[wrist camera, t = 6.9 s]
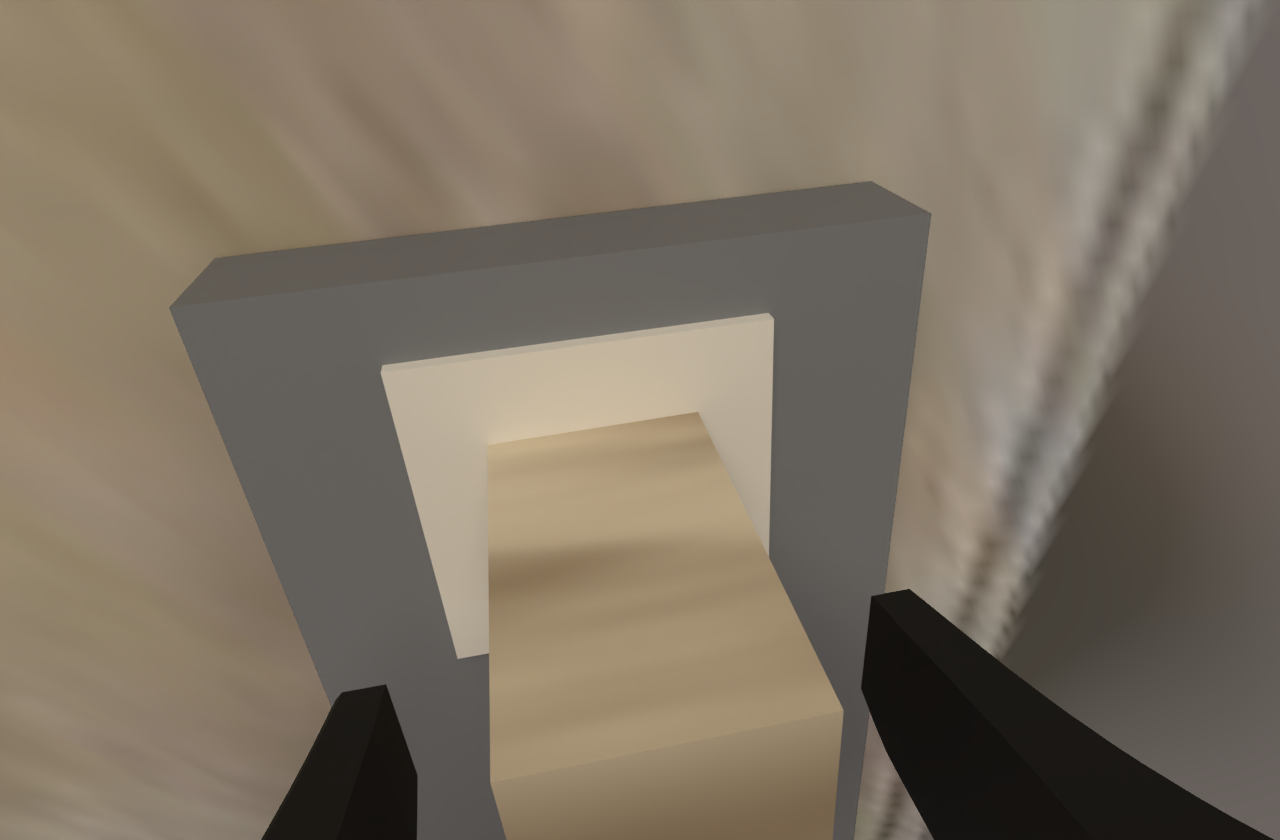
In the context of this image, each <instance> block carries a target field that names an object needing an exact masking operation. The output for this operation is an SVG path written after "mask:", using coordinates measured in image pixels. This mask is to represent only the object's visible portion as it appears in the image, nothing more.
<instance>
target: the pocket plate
mask: <svg viewBox="0 0 1280 840" xmlns="http://www.w3.org/2000/svg"><path fill="white" fill-rule="evenodd" d="M930 219H931V213H929V212H927V211H926V210H924V209H922V208H920V207H918V206H916V205H914V204H913V203H911V202H909V201H907V200H905V199H903V198H901V197H900V196H898V195H896V194H894V193H892V192H890V191H888V190H887V189H885V188H883V187H881V186H879V185H877V184H875V183H874V182H872V181H871V182H863V183H854V184H846V185H837V186H828V187H820V188H811V189H803V190H794V191H786V192H777V193H769V194H760V195H752V196H743V197H735V198H726V199H718V200H709V201H701V202H692V203H683V204H675V205H666V206H658V207H649V208H641V209H632V210H624V211H615V212H607V213H598V214H590V215H581V216H573V217H564V218H556V219H547V220H538V221H530V222H521V223H513V224H504V225H496V226H487V227H479V228H470V229H462V230H453V231H445V232H436V233H428V234H419V235H410V236H402V237H393V238H385V239H376V240H368V241H359V242H351V243H342V244H334V245H325V246H317V247H308V248H300V249H291V250H283V251H274V252H265V253H257V254H248V255H240V256H231V257H223V258H215V259H214V260H213V261H212V262H211V263H210V264H209V266H208V267H207V268H206V269H205V270H204V271H203V272H202V273H201V274H200V275H199V276H198V277H197V278H196V279H195V280H194V282H193V283H192V284H191V285H190V286H189V287H188V288H187V289H186V290H185V291H184V292H183V293H182V294H181V295H180V296H179V298H178V299H177V300H176V301H175V302H174V303H173V304H172V305H171V306H170V307H169V308H170V311H171V313H172V316H173V318H174V321H175V323H176V326H177V328H178V331H179V333H180V336H181V338H182V340H183V343H184V345H185V348H186V350H187V353H188V355H189V358H190V360H191V363H192V365H193V367H194V370H195V372H196V375H197V377H198V380H199V382H200V385H201V387H202V390H203V392H204V395H205V397H206V399H207V402H208V404H209V407H210V409H211V412H212V414H213V417H214V419H215V422H216V424H217V426H218V429H219V431H220V434H221V436H222V439H223V441H224V444H225V446H226V449H227V451H228V454H229V456H230V458H231V461H232V463H233V466H234V468H235V471H236V473H237V476H238V478H239V481H240V483H241V486H242V488H243V490H244V493H245V495H246V498H247V500H248V503H249V505H250V508H251V510H252V513H253V515H254V517H255V520H256V522H257V525H258V527H259V530H260V532H261V535H262V537H263V540H264V542H265V545H266V547H267V549H268V552H269V554H270V557H271V559H272V562H273V564H274V567H275V569H276V572H277V574H278V576H279V579H280V581H281V584H282V586H283V589H284V591H285V594H286V596H287V599H288V601H289V604H290V606H291V608H292V611H293V613H294V616H295V618H296V621H297V623H298V626H299V628H300V631H301V633H302V636H303V638H304V640H305V643H306V645H307V648H308V650H309V653H310V655H311V658H312V660H313V663H314V665H315V667H316V670H317V672H318V675H319V677H320V680H321V682H322V685H323V687H324V690H325V692H326V695H327V697H328V699H329V702H330V704H331V707H332V706H333V704H334V702H335V700H336V699H337V697H338V696H339V695H340V694H341V693H342V692H346V691H352V690H357V689H363V688H368V687H374V686H379V685H385V684H386V685H387V688H388V691H389V694H390V697H391V700H392V703H393V706H394V708H395V711H396V714H397V717H398V720H399V723H400V726H401V729H402V732H403V735H404V737H405V740H406V743H407V746H408V749H409V752H410V755H411V758H412V761H413V763H414V766H415V769H416V772H417V775H418V790H417V840H506V836H505V833H504V829H503V826H502V822H501V819H500V815H499V812H498V808H497V805H496V801H495V798H494V794H493V791H492V787H491V784H490V692H489V580H488V467H487V445H490V444H496V443H503V442H509V441H516V440H522V439H528V438H535V437H541V436H547V435H554V434H560V433H567V432H573V431H579V430H586V429H592V428H598V427H605V426H611V425H618V424H624V423H630V422H637V421H643V420H649V419H656V418H662V417H669V416H675V415H681V414H688V413H694V412H698V413H699V415H700V417H701V419H702V421H703V424H704V426H705V428H706V430H707V432H708V434H709V436H710V438H711V440H712V442H713V444H714V446H715V448H716V450H717V452H718V454H719V456H720V458H721V460H722V462H723V464H724V466H725V469H726V471H727V473H728V475H729V477H730V479H731V481H732V483H733V485H734V487H735V489H736V491H737V493H738V495H739V497H740V499H741V501H742V503H743V505H744V507H745V509H746V512H747V514H748V516H749V518H750V520H751V522H752V524H753V526H754V528H755V530H756V532H757V534H758V536H759V538H760V540H761V542H762V544H763V546H764V548H765V550H766V552H767V554H768V557H769V559H770V561H771V563H772V565H773V567H774V569H775V571H776V573H777V575H778V577H779V579H780V581H781V583H782V585H783V587H784V589H785V591H786V593H787V595H788V597H789V600H790V602H791V604H792V606H793V608H794V610H795V612H796V614H797V616H798V618H799V620H800V622H801V624H802V626H803V628H804V630H805V632H806V634H807V636H808V638H809V640H810V642H811V645H812V647H813V649H814V651H815V653H816V655H817V657H818V659H819V661H820V663H821V665H822V667H823V669H824V671H825V673H826V675H827V677H828V679H829V681H830V683H831V685H832V688H833V690H834V692H835V694H836V696H837V698H838V700H839V702H840V704H841V706H842V708H843V710H844V713H843V724H842V736H841V747H840V759H839V770H838V782H837V794H836V805H835V817H834V828H833V840H853V838H854V830H855V822H856V814H857V806H858V798H859V790H860V782H861V774H862V766H863V758H864V750H865V742H866V734H867V726H868V718H869V708H868V705H867V703H866V700H865V698H864V695H863V693H862V690H861V682H862V674H863V665H864V656H865V647H866V638H867V629H868V621H869V612H870V603H871V596H874V595H879V594H884V589H885V581H886V573H887V565H888V557H889V549H890V541H891V533H892V525H893V517H894V509H895V501H896V493H897V485H898V477H899V469H900V461H901V452H902V444H903V436H904V428H905V420H906V412H907V404H908V396H909V388H910V380H911V372H912V364H913V356H914V348H915V340H916V332H917V324H918V316H919V308H920V300H921V292H922V284H923V276H924V268H925V260H926V252H927V244H928V235H929V227H930Z"/></svg>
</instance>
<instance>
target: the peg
mask: <svg viewBox="0 0 1280 840" xmlns="http://www.w3.org/2000/svg"><path fill="white" fill-rule="evenodd" d="M487 467H488V580H489V692H490V784H491V787H492V791H493V794H494V798H495V801H496V805H497V808H498V812H499V815H500V819H501V822H502V826H503V829H504V833H505V836H506V840H833V828H834V817H835V805H836V794H837V782H838V770H839V759H840V747H841V736H842V724H843V713H844V710H843V708H842V706H841V704H840V702H839V700H838V698H837V696H836V694H835V692H834V690H833V688H832V685H831V683H830V681H829V679H828V677H827V675H826V673H825V671H824V669H823V667H822V665H821V663H820V661H819V659H818V657H817V655H816V653H815V651H814V649H813V647H812V645H811V642H810V640H809V638H808V636H807V634H806V632H805V630H804V628H803V626H802V624H801V622H800V620H799V618H798V616H797V614H796V612H795V610H794V608H793V606H792V604H791V602H790V600H789V597H788V595H787V593H786V591H785V589H784V587H783V585H782V583H781V581H780V579H779V577H778V575H777V573H776V571H775V569H774V567H773V565H772V563H771V561H770V559H769V557H768V554H767V552H766V550H765V548H764V546H763V544H762V542H761V540H760V538H759V536H758V534H757V532H756V530H755V528H754V526H753V524H752V522H751V520H750V518H749V516H748V514H747V512H746V509H745V507H744V505H743V503H742V501H741V499H740V497H739V495H738V493H737V491H736V489H735V487H734V485H733V483H732V481H731V479H730V477H729V475H728V473H727V471H726V469H725V466H724V464H723V462H722V460H721V458H720V456H719V454H718V452H717V450H716V448H715V446H714V444H713V442H712V440H711V438H710V436H709V434H708V432H707V430H706V428H705V426H704V424H703V421H702V419H701V417H700V415H699V413H698V412H694V413H688V414H681V415H675V416H669V417H662V418H656V419H649V420H643V421H637V422H630V423H624V424H618V425H611V426H605V427H598V428H592V429H586V430H579V431H573V432H567V433H560V434H554V435H547V436H541V437H535V438H528V439H522V440H516V441H509V442H503V443H496V444H490V445H487Z"/></svg>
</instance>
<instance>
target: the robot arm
mask: <svg viewBox="0 0 1280 840" xmlns="http://www.w3.org/2000/svg"><path fill="white" fill-rule="evenodd" d="M861 690H862V693H863V695H864V698H865V700H866V703H867V705H868V708H869V711H870V713H871V716H872V718H873V721H874V723H875V726H876V728H877V730H878V733H879V735H880V737H881V740H882V742H883V745H884V747H885V749H886V752H887V754H888V756H889V758H890V760H891V761H892V763H893V765H894V767H895V769H896V771H897V773H898V774H899V776H900V778H901V780H902V782H903V784H904V786H905V787H906V789H907V791H908V793H909V795H910V797H911V798H912V800H913V802H914V804H915V806H916V808H917V809H918V811H919V813H920V815H921V817H922V818H923V820H924V822H925V824H926V826H927V827H928V829H929V831H930V833H931V835H932V837H933V838H934V840H1274V839H1272V838H1270V837H1268V836H1266V835H1264V834H1262V833H1260V832H1259V831H1257V830H1255V829H1253V828H1251V827H1249V826H1248V825H1246V824H1244V823H1242V822H1240V821H1238V820H1236V819H1235V818H1233V817H1231V816H1229V815H1228V814H1226V813H1224V812H1222V811H1221V810H1219V809H1217V808H1215V807H1213V806H1212V805H1210V804H1208V803H1207V802H1205V801H1203V800H1201V799H1200V798H1198V797H1196V796H1195V795H1193V794H1191V793H1190V792H1188V791H1186V790H1185V789H1183V788H1182V787H1180V786H1178V785H1177V784H1175V783H1173V782H1171V781H1170V780H1168V779H1167V778H1165V777H1164V776H1162V775H1160V774H1159V773H1157V772H1155V771H1154V770H1152V769H1150V768H1149V767H1147V766H1146V765H1144V764H1142V763H1140V762H1139V761H1138V760H1136V759H1135V758H1133V757H1132V756H1130V755H1129V754H1127V753H1125V752H1124V751H1122V750H1121V749H1119V748H1118V747H1116V746H1115V745H1113V744H1112V743H1110V742H1109V741H1107V740H1106V739H1105V738H1103V737H1102V736H1100V735H1099V734H1097V733H1096V732H1094V731H1093V730H1092V729H1090V728H1088V727H1087V726H1086V725H1084V724H1083V723H1081V722H1080V721H1079V720H1077V719H1076V718H1074V717H1072V716H1071V715H1070V714H1069V713H1067V712H1066V711H1064V710H1063V709H1062V708H1060V707H1059V706H1057V705H1056V704H1055V703H1053V702H1052V701H1051V700H1049V699H1048V698H1047V697H1045V696H1044V695H1043V694H1041V693H1040V692H1039V691H1037V690H1036V689H1035V688H1033V687H1032V686H1031V685H1030V684H1028V683H1027V682H1026V681H1024V680H1023V679H1022V678H1020V677H1019V676H1018V675H1016V674H1015V673H1014V672H1012V671H1011V670H1010V669H1008V668H1007V667H1006V666H1005V665H1003V664H1002V663H1001V662H1000V661H998V660H997V659H996V658H994V657H993V656H992V655H991V654H989V653H988V652H987V651H986V650H984V649H983V648H982V647H981V646H979V645H978V644H977V643H976V642H974V641H973V640H972V639H971V638H969V637H968V636H967V635H966V634H964V633H963V632H962V631H961V630H960V629H958V628H957V627H956V626H955V625H953V624H952V623H951V622H950V621H948V620H947V619H946V618H945V617H944V616H942V615H941V614H940V613H939V612H937V611H936V610H935V609H934V608H932V607H931V606H930V605H929V604H927V603H926V602H925V601H924V600H922V599H921V598H920V597H919V596H917V595H916V594H915V593H914V592H912V591H911V590H910V589H907V590H901V591H896V592H890V593H885V594H879V595H874V596H871V603H870V612H869V621H868V629H867V638H866V647H865V656H864V665H863V674H862V682H861ZM417 790H418V775H417V772H416V769H415V766H414V763H413V761H412V758H411V755H410V752H409V749H408V746H407V743H406V740H405V737H404V735H403V732H402V729H401V726H400V723H399V720H398V717H397V714H396V711H395V708H394V706H393V703H392V700H391V697H390V694H389V691H388V688H387V685H386V684H385V685H379V686H374V687H368V688H363V689H357V690H352V691H346V692H342V693H341V694H340V695H339V696H338V697H337V699H336V700H335V702H334V704H333V706H332V708H331V710H330V712H329V714H328V716H327V718H326V720H325V722H324V724H323V726H322V728H321V730H320V732H319V734H318V736H317V738H316V740H315V742H314V744H313V746H312V748H311V750H310V752H309V754H308V756H307V758H306V760H305V762H304V764H303V765H302V767H301V769H300V771H299V773H298V775H297V777H296V779H295V780H294V782H293V784H292V786H291V788H290V790H289V792H288V793H287V795H286V797H285V799H284V800H283V802H282V804H281V806H280V807H279V809H278V811H277V813H276V815H275V816H274V818H273V820H272V822H271V823H270V825H269V827H268V829H267V830H266V832H265V834H264V836H263V837H262V839H261V840H417Z"/></svg>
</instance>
